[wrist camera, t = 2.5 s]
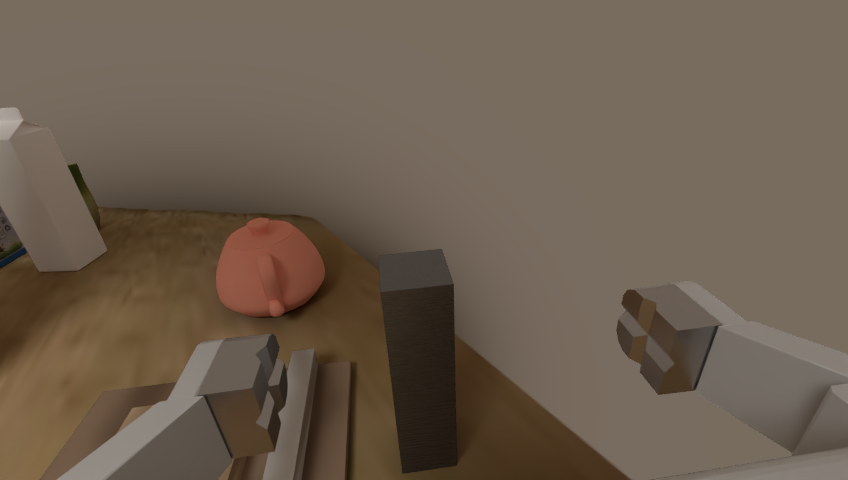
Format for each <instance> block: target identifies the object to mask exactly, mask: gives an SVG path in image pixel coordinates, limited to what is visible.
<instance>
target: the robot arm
mask: <svg viewBox="0 0 848 480" xmlns="http://www.w3.org/2000/svg"><path fill="white" fill-rule="evenodd" d="M622 305H623V307H624V308H625V310H626V311H625V313H624V314H623V315H622V316H621V317H620V318H619V319H618V325H617V335H618V341H619V343H620V346H621V348H622V350H623V351H624V352H625V354H626V355H627V356H628V358H630V359H632V360H634V361H636V362H637V363H639V364H641V367H640V373H641V374H642V375H643V376H644V378H645V379H646V380H647V381H648V383H649V384H650V385H651V386H652V387H653V389H654V390H655V391H656V393H657V394H658V395H661V394H670V393H677V392H686V391H695V390H696V391H695V393H697V394H699V395H700V396H702V397H703V398H705V399H706V400H708V401H710V402H712V403H713V404H715V405H716V406H718V407H719V408H721V409H723V410H724V411H726V412H727V413H730V414H731V415H732V416H734V417H735V418H737V419H739V420H740V421H742V422H744V423H745V424H747V425H748V426H750V427H752V428H753V429H755V430H756V431H758V432H760V433H762V434H763V435H765V436H766V437H768V438H769V439H771V440H773V441H774V442H776V443H777V444H779V445H780V446H782V447H784V448H785V449H787V450H789V451H790V452H792V453H793V454H792V456H791V457H785V458H779V459H773V460H767V461H761V462H754V463H748V464H742V465H736V466H730V467H724V468H719V469H712V470H707V471H700V472H694V473H688V474H683V475H676V476H671V477H664V478H658V479H652V480H848V354H845V353H842V352H839V351H837V350H834V349H831V348H828V347H825V346H823V345H820V344H817V343H814V342H811V341H808V340H805V339H802V338H800V337H797V336H794V335H791V334H789V333H786V332H783V331H780V330H777V329H774V328H772V327H769V326H766V325H763V324H760V323H757V322H755V321H753V322H747V321H745V320H744V319H743V318H742V317H740V316H739V315H738V314H736V313H735V312H734V311H732V310H731V309H730V308H728V307H727V306H726V305H725V304H723V303H722V302H721V301H719V300H718V299H717V298H715V297H714V296H713V295H711V294H710V293H709V292H707V291H706V290H705V289H704V288H702V287H701V286H700V285H698V284H697V283H695V282H692V281H684V282H677V283H670V284H667V285H660V286H652V287H645V288H637V289H629V290H627V291H626V292H625V294H624V295H623V300H622ZM279 348H280V347H279V345H278V342H277V339H276V336H275V335H273V334H265V335H256V336H246V337H236V338H227V339H220V340H211V341H203V342H201V343H200V344H198V345H197V347H196V348H195V350H194V352H193V354H192V356H191V357H190V359H189V361H188V363H187V365H186V367H185V368H184V370H183V372H182V374H181V376H180V378H179V379H178V381H177V383H176V385H175V387H174V389H173V390H172V392H171V394H170V396H169V398H168V399H167V401H161V402H158V403H157V404H155V405H154V406H153V407H152V408H150V409H149V410H148V411H146V412H145V413H144V414H142V415H141V416H140V417H138V418H137V419H136V420H134V421H133V422H132V423H130V424H129V425H128V426H127V427H125V428H124V429H123V430H121V431H120V432H119V433H117V434H116V435H115V436H113V437H112V438H111V439H109V440H108V441H107V442H105V443H104V444H103V445H102V446H100V447H99V448H98V449H96V450H95V451H94V452H92V453H91V454H90V455H88V456H87V457H86V458H84V459H83V460H82V461H80V462H79V463H78V464H77V465H75V466H74V467H73V468H71V469H70V470H69V471H67V472H66V473H65V474H63V475H62V476H61V477H59V478H58V479H57V480H218V479H219V478H220V476H221V475H222V474H223V473H224V471H225V470H226V469H227V468H228V466H229V465H230V464H231V463H232V459H235V458H241V457H246V456H252V455H258V454H263V453H269V452H275V449H276V445H277V440H278V436H279V431H280V427H281V421H280V418H279V415H278V413H279V412H280V411H281V410H282V409H283V408H284V407H285V404H286V399H287V391H288V379H287V372H286V368H285V364H284V362H282V361H281V360H279V359H278V358H277V356H278V352H279Z"/></svg>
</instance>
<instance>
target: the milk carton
mask: <svg viewBox="0 0 848 480" xmlns="http://www.w3.org/2000/svg"><path fill="white" fill-rule="evenodd" d="M26 252H27V250H26V249H25V247H24V245H23V243H22V242H21V240H20V238H19V237H18V235H17V233H16V231H15V230H14V228H13V226H12V225H11V223H10V221H9V220H8V218H7V216H6V214H5V213H4V211H3V209H2V208H1V206H0V268H2V267H3V266H5V265H7V264H8V263H10V262H12V261H13V260H15V259H17V258H18V257H20V256H22V255H23V254H25V253H26Z"/></svg>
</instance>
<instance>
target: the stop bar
mask: <svg viewBox="0 0 848 480" xmlns="http://www.w3.org/2000/svg"><path fill="white" fill-rule="evenodd" d="M379 273H380V292H381V300H382V309H383V317H384V325H385V333H386V342H387V350H388V358H389V366H390V375H391V383H392V391H393V399H394V408H395V416H396V424H397V432H398V440H399V449H400V457H401V465H402V473H409V472H416V471H423V470H429V469H436V468H442V467H449V466H456V465H457V446H456V391H455V336H454V287H453V286H454V284H453V281H452V278H451V275H450V272H449V269H448V266H447V263H446V260H445V257H444V254H443V252H442V249H437V250H427V251H418V252H408V253H399V254H390V255H379Z"/></svg>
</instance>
